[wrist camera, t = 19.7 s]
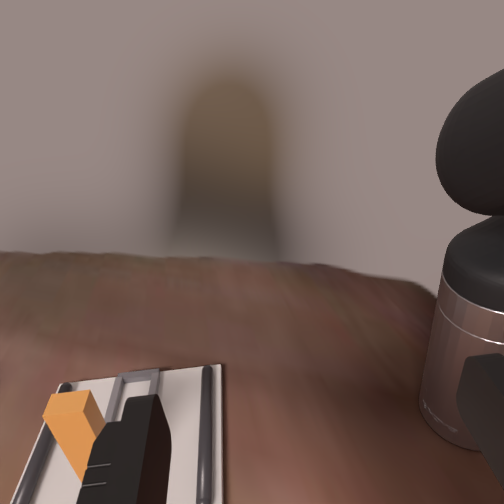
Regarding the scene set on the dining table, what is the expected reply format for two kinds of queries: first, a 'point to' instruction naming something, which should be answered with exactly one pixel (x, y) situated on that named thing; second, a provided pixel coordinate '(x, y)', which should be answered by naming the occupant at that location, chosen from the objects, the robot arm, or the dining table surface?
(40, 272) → the dining table surface
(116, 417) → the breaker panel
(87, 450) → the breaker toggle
